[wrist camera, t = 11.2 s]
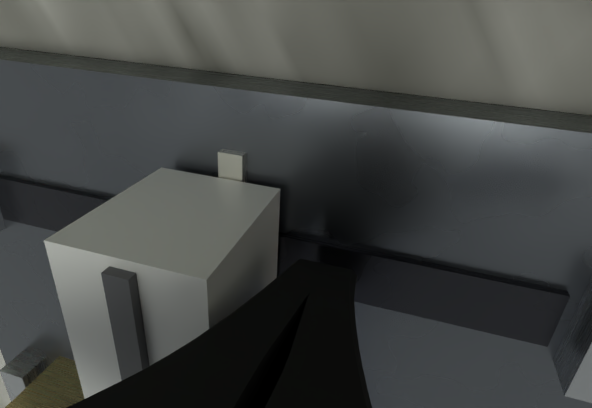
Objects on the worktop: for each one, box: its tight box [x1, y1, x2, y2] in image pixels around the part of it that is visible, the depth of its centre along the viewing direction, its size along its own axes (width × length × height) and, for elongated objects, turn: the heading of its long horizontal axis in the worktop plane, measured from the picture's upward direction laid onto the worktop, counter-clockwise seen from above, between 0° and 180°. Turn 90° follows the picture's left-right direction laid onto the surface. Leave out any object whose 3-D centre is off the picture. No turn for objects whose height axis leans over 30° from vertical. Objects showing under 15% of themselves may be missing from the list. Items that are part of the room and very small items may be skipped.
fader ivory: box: [44, 167, 280, 399], centre depth 9 cm, size 4×3×4 cm
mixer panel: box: [0, 47, 592, 408], centre depth 13 cm, size 16×20×2 cm
